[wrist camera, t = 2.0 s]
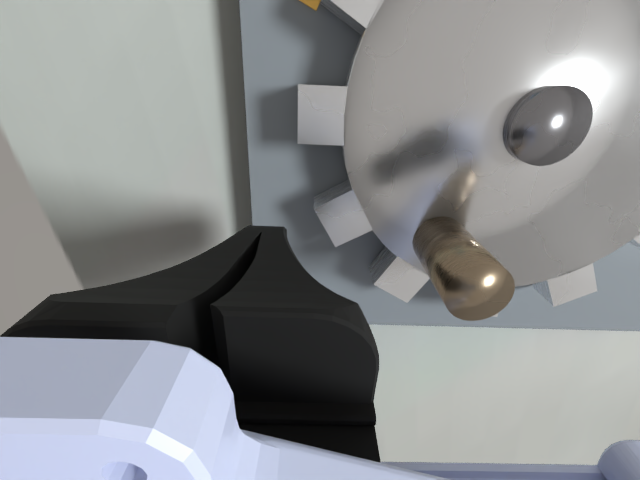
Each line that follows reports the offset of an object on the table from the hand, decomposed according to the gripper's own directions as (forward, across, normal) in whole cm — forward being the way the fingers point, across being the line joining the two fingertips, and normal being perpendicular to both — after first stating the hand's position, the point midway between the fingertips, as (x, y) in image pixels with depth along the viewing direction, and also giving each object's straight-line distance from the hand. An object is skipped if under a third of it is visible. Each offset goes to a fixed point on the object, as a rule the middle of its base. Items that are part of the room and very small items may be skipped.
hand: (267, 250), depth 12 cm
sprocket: (+2, -9, -5) cm, 10 cm away
